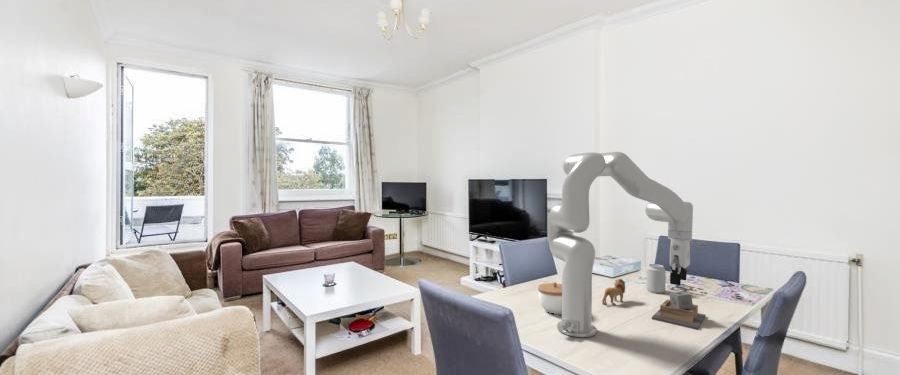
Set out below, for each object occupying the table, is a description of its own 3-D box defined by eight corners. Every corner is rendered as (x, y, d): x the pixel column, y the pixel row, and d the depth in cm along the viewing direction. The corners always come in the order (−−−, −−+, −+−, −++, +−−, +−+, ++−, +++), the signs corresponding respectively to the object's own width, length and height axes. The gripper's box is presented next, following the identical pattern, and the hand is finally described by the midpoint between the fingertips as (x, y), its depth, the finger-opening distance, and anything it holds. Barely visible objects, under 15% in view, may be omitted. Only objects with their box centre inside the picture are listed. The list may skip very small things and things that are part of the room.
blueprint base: (697, 329, 126) (697, 316, 126) (651, 319, 136) (651, 306, 136) (705, 316, 138) (705, 304, 138) (663, 307, 148) (663, 296, 147)
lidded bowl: (548, 318, 137) (548, 288, 136) (532, 307, 149) (532, 279, 148) (578, 315, 140) (578, 285, 140) (560, 304, 152) (560, 277, 152)
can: (642, 290, 171) (643, 264, 171) (653, 288, 174) (654, 262, 174) (657, 294, 164) (658, 267, 164) (669, 292, 167) (669, 266, 167)
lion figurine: (615, 297, 161) (615, 276, 161) (628, 300, 157) (628, 279, 157) (599, 305, 151) (599, 283, 151) (612, 308, 147) (612, 285, 147)
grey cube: (684, 304, 139) (682, 291, 139) (693, 308, 134) (691, 294, 134) (671, 306, 138) (669, 292, 139) (679, 309, 133) (677, 295, 134)
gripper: (686, 238, 127) (685, 288, 128) (696, 234, 140) (694, 279, 140) (662, 236, 132) (660, 284, 133) (673, 232, 145) (672, 276, 145)
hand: (678, 282), depth 136 cm, fingers open, 9 cm apart
